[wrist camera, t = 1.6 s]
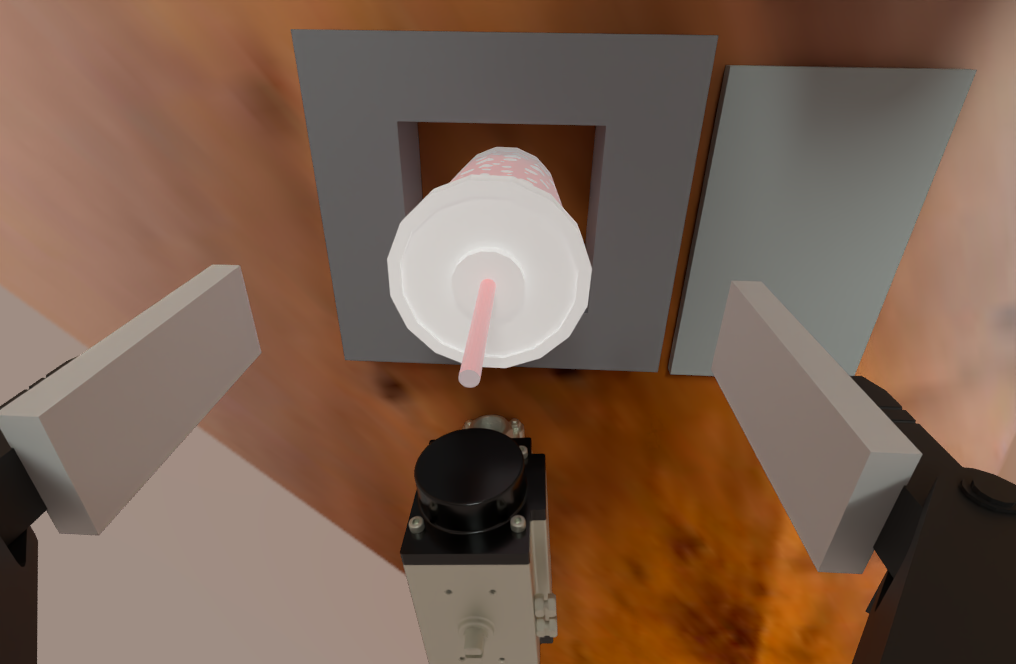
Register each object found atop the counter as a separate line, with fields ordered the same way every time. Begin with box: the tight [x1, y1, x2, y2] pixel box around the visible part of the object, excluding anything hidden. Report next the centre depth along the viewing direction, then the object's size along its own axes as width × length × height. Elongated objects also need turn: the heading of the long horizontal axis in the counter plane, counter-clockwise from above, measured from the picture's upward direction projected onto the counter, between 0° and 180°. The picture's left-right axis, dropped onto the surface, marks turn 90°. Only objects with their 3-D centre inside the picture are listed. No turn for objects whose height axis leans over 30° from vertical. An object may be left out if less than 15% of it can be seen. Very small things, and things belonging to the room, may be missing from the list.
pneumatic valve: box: [400, 415, 557, 664], centre depth 25 cm, size 6×12×12 cm, turn 4°
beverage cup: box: [387, 147, 592, 388], centre depth 18 cm, size 6×6×14 cm
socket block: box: [291, 29, 718, 372], centre depth 22 cm, size 13×14×4 cm
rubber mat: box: [668, 65, 977, 376], centre depth 24 cm, size 14×9×1 cm, turn 179°
